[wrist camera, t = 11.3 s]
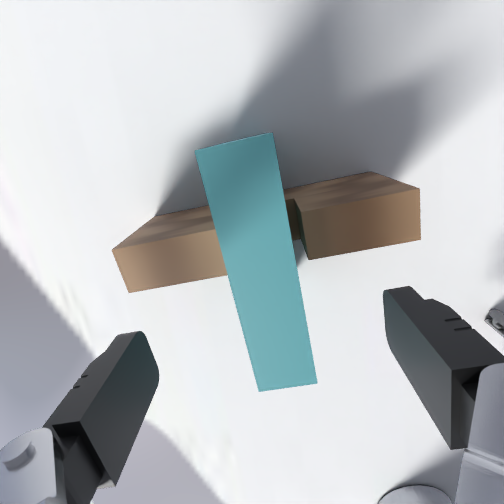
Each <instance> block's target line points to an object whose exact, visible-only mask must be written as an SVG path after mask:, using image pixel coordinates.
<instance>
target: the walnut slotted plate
mask: <svg viewBox="0 0 504 504" xmlns="http://www.w3.org/2000/svg"><path fill="white" fill-rule="evenodd" d="M283 193H284V199H285V204H286V210H287V215H288V221H289V227H290V232H291V238H292V240H297V239H301V241H302V244H303V246H304V249H305V252H306V254H307V257H308V260H313V259H318V258H323V257H329V256H334V255H340V254H345V253H351V252H356V251H362V250H367V249H373V248H378V247H384V246H389V245H395V244H400V243H406V242H411V241H416V240H421V228H420V188H417V187H414V186H411V185H408V184H405V183H402V182H399V181H397V180H394V179H391V178H388V177H385V176H382V175H379V174H377V173H374V172H366V173H361V174H357V175H352V176H347V177H342V178H337V179H333V180H328V181H323V182H318V183H313V184H309V185H304V186H299V187H294V188H289V189H284V190H283ZM112 252H113V255H114V257H115V260H116V262H117V265H118V267H119V270H120V272H121V275H122V277H123V280H124V282H125V285H126V287H127V290H128V292H129V293H132V292H137V291H143V290H148V289H154V288H159V287H165V286H170V285H176V284H181V283H187V282H192V281H198V280H203V279H209V278H214V277H220V276H225V275H228V274H227V271H226V267H225V263H224V259H223V256H222V252H221V248H220V244H219V241H218V237H217V233H216V230H215V226H214V222H213V218H212V215H211V211H210V207H209V205H207V206H203V207H198V208H193V209H188V210H183V211H179V212H174V213H169V214H164V215H159V216H154V217H153V218H152V219H151V220H149V221H148V222H147V223H146V224H144V225H143V226H142V227H140V228H139V229H138V230H137V231H135V232H134V233H133V234H131V235H130V236H129V237H128V238H126V239H125V240H124V241H122V242H121V243H120V244H119V245H117V246H116V247H115V248H113V249H112Z"/></svg>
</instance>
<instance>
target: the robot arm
mask: <svg viewBox="0 0 504 504" xmlns="http://www.w3.org/2000/svg"><path fill="white" fill-rule="evenodd" d="M383 304H384V317H385V330H386V337H387V341H388V344H389V347H390V349H391V351H392V353H393V355H394V356H395V358H396V360H397V361H398V363H399V365H400V366H401V368H402V370H403V371H404V373H405V375H406V376H407V378H408V380H409V381H410V383H411V385H412V386H413V388H414V390H415V391H416V393H417V395H418V396H419V398H420V400H421V401H422V403H423V405H424V406H425V408H426V410H427V411H428V413H429V415H430V416H431V418H432V420H433V421H434V423H435V425H436V426H437V428H438V430H439V431H440V433H441V435H442V436H443V438H444V440H445V441H446V443H447V445H448V446H449V448H450V450H453V449H462V448H467V449H465V450H464V454H463V458H462V463H461V469H460V475H459V480H458V486H457V492H456V497H455V503H454V504H504V356H503V355H502V354H501V353H500V352H499V351H498V350H497V349H496V348H494V347H493V346H492V345H491V344H490V343H489V342H488V341H487V340H486V339H485V338H483V337H482V336H481V335H480V334H479V333H478V332H477V331H476V330H475V329H472V328H471V326H470V325H469V324H468V323H467V322H466V321H465V320H464V319H463V320H462V319H461V317H460V316H459V315H458V314H457V313H456V312H455V311H454V310H453V309H452V308H450V307H449V306H447V305H445V304H443V303H441V302H438V301H436V300H434V299H427V300H424V299H423V298H422V297H421V296H420V295H419V294H418V293H417V292H416V291H415V290H414V289H413V288H412V287H410V286H406V287H400V288H394V289H388V290H384V292H383ZM158 383H159V370H158V366H157V364H156V361H155V359H154V356H153V353H152V351H151V348H150V346H149V343H148V341H147V338H146V336H145V334H144V333H143V332H142V331H137V332H131V333H125V334H120V335H117V336H116V337H115V339H114V340H113V342H112V343H111V344H110V346H109V347H108V348H107V350H106V351H105V352H104V353H102V354H101V355H100V356H99V357H98V358H96V359H95V360H94V361H93V362H92V363H90V365H89V366H88V368H87V369H86V370H85V371H84V373H83V374H82V375H81V378H80V379H78V381H77V382H76V383H75V385H74V386H73V389H71V390H70V391H69V392H68V394H67V395H66V396H65V398H64V399H63V400H62V402H61V403H60V404H59V406H58V407H57V408H56V410H55V411H54V413H53V414H52V415H51V416H50V418H49V419H48V420H47V422H46V423H45V424H44V425H43V427H42V428H37V429H33V430H30V431H28V432H26V433H24V434H22V435H20V436H18V437H16V438H15V439H13V440H12V441H10V442H9V443H8V444H7V445H6V446H4V447H3V448H2V449H1V450H0V504H94V502H93V501H92V498H93V496H94V494H95V492H96V489H101V488H110V487H115V486H116V484H117V482H118V479H119V477H120V475H121V472H122V470H123V467H124V465H125V463H126V460H127V458H128V456H129V453H130V451H131V448H132V446H133V443H134V441H135V439H136V437H137V434H138V432H139V429H140V427H141V425H142V422H143V420H144V417H145V415H146V413H147V410H148V408H149V406H150V403H151V401H152V398H153V396H154V394H155V391H156V389H157V386H158ZM378 504H452V502H451V500H450V499H449V497H448V496H447V495H446V494H445V493H444V492H442V491H441V490H439V489H436V488H433V487H429V486H421V485H419V486H408V487H403V488H400V489H397V490H394V491H392V492H390V493H389V494H387V495H386V496H384V497H383V498H382V499H381V500H380V501H379V503H378Z"/></svg>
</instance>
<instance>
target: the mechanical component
mask: <svg viewBox="0 0 504 504" xmlns="http://www.w3.org/2000/svg"><path fill="white" fill-rule="evenodd" d="M489 315H490V316H491V317H492V318H493V320H491V319H486V320H485V322H486V323H487V324H488V325H490V326H491V327H492V328H493V329H494V330H495V331H497V332H498V333H499V334H500V335H501V336H503V337H504V314H503V313H502V312H501V311H499V310H497V309H493V310H490V311H489Z"/></svg>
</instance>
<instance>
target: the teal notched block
mask: <svg viewBox="0 0 504 504" xmlns="http://www.w3.org/2000/svg"><path fill="white" fill-rule="evenodd" d="M195 155H196V159H197V162H198V166H199V170H200V174H201V177H202V181H203V185H204V188H205V192H206V196H207V200H208V203H209V207H210V211H211V215H212V218H213V222H214V226H215V230H216V233H217V237H218V241H219V244H220V248H221V252H222V256H223V259H224V263H225V267H226V271H227V274H228V278H229V282H230V286H231V289H232V293H233V297H234V300H235V304H236V308H237V312H238V315H239V319H240V323H241V327H242V330H243V334H244V338H245V342H246V345H247V349H248V353H249V356H250V360H251V364H252V368H253V371H254V375H255V379H256V383H257V386H258V390H259V392H261V391H268V390H275V389H282V388H289V387H296V386H303V385H310V384H317V378H316V372H315V366H314V361H313V355H312V350H311V344H310V338H309V333H308V327H307V322H306V316H305V311H304V305H303V299H302V294H301V288H300V283H299V277H298V271H297V266H296V260H295V255H294V249H293V243H292V238H291V232H290V227H289V221H288V215H287V210H286V204H285V199H284V193H283V187H282V182H281V176H280V171H279V165H278V160H277V154H276V148H275V143H274V137H273V133H265V134H260V135H256V136H252V137H247V138H243V139H239V140H234V141H230V142H226V143H222V144H218V145H214V146H210V147H207V148H203V149H199V150H195Z"/></svg>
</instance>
